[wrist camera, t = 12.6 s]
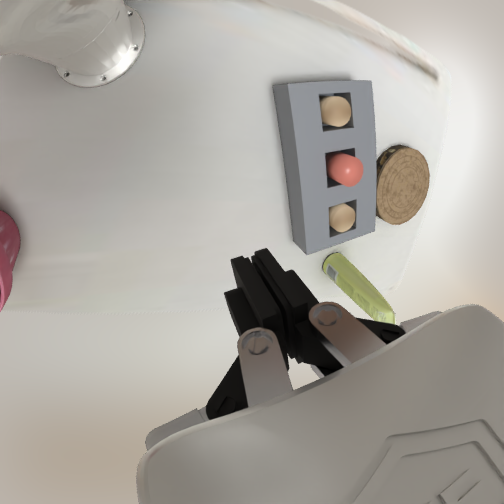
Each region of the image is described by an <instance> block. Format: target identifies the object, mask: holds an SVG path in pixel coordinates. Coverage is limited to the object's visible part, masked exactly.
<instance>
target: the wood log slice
mask: <svg viewBox="0 0 504 504" xmlns="http://www.w3.org/2000/svg"><path fill="white" fill-rule="evenodd" d="M376 171H377V178H376V216H378V217H379V218H381V219H383V220H384V221H386V222H388V223H390V224H392V225H400V224H402V223H405V222H407V221H409V220H410V219H411V218H412V217H413V216H415V214H416V213H417V212H418V210H419V209H420V208H421V206H422V204H423V202H424V200H425V198H426V195H427V191H428V187H429V176H430V174H429V168H428V164H427V162H426V160H425V158H424V156H423V155H422V154H421V153H420V152H419V151H418V150H415V149H412V148H409V147H406V146H402V145H397V146H392V147H390V148H389V149H387V150H386V151H384V152H383V153H382V154H381V156H380V157H379V158H378V159H377V160H376Z"/></svg>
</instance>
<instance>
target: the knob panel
mask: <svg viewBox="0 0 504 504" xmlns="http://www.w3.org/2000/svg"><path fill="white" fill-rule="evenodd" d="M273 91H274V97H275V103H276V110H277V116H278V123H279V129H280V136H281V143H282V150H283V158H284V165H285V173H286V180H287V188H288V197H289V205H290V214H291V223H292V232H293V241H294V242H295V243H296V244H297V245H298V246H299V248H300V249H301V250H302V251H303V252H304V253H305V254H306V255H309V254H312V253H315V252H318V251H320V250H323V249H326V248H329V247H332V246H335V245H337V244H340V243H343V242H346V241H349V240H352V239H354V238H357V237H360V236H363V235H366V234H368V233H371V232H374V231H375V217H376V178H377V171H376V132H375V115H374V102H373V91H372V82H371V81H367V80H345V81H318V82H303V83H291V84H282V85H273ZM319 96H339V97H342V98H344V99H346V100H347V101H348V103H349V105H350V107H351V117H350V119H349V121H348V122H347V123H346V124H345V125H343V126H340V127H337V126H332V125H327V124H322V119H321V110H320V102H319ZM333 151H339V152H342V153H345V154H348V155H350V156H353V157H356V158H358V159H359V160H360V161H361V162H362V165H363V175H362V178H361V180H360V181H359V182H358V183H357V184H356V185H354V186H352V187H347V186H345V185H343V184H341V183H339V182H337V181H335V180H333V179H331V178H329V177H327V174H326V161H325V156H326V155H327V154H328V153H330V152H333ZM342 203H345V204H346V205H348V206H350V207H351V208H352V209H353V210H354V211H355V221H354V224H353V225H352V227H351V228H350V229H348V230H347V231H345V232H338V231H336V230H335V229H334V228H333V227H331V226H330V225H329V208H328V207H331V206H335V205H338V204H342Z"/></svg>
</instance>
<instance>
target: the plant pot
mask: <svg viewBox="0 0 504 504" xmlns="http://www.w3.org/2000/svg"><path fill="white" fill-rule="evenodd" d="M19 248H20V234H19V230H18V228H17V225H16V224H15V222H14V220H13V219H12V218H11V217H10V216H9V215H8V214H7V213H5V212H3V211H1V210H0V312H1V310H2V308H3V306H4V305H5V303H6V301H7V299H8V297H9V295H10V292H11V288H12V271H13V267H14V264H15V261H16V258H17V254H18V251H19Z"/></svg>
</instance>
